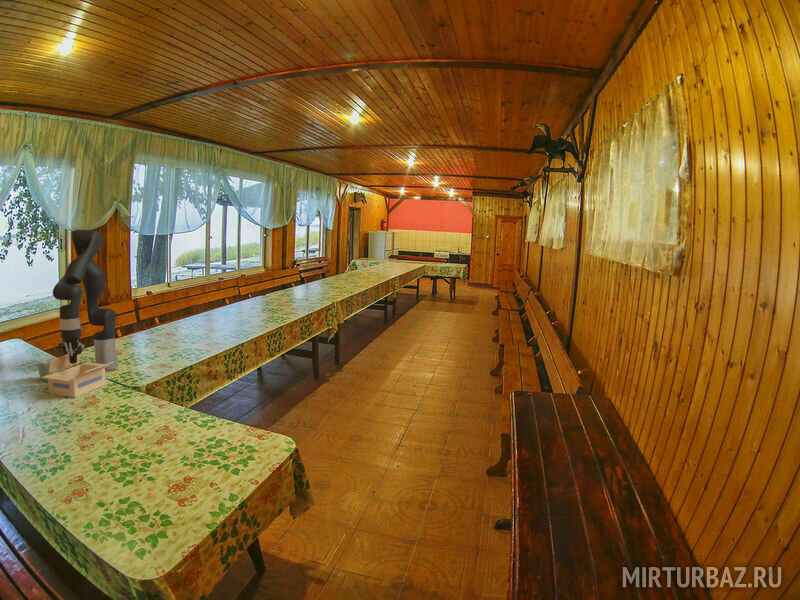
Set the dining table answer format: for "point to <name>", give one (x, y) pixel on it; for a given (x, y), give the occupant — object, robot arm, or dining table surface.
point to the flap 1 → (61, 363)
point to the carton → (76, 380)
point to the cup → (45, 369)
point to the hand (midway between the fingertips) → (73, 363)
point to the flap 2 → (94, 369)
